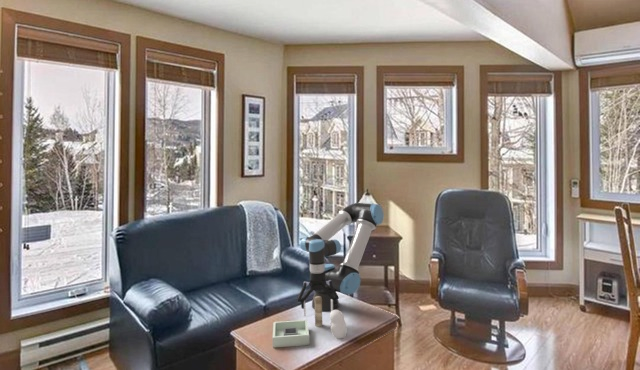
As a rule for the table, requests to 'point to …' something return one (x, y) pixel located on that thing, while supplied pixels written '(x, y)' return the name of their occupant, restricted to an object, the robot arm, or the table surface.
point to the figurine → (337, 324)
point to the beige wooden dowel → (318, 311)
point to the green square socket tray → (290, 333)
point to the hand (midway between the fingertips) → (318, 313)
